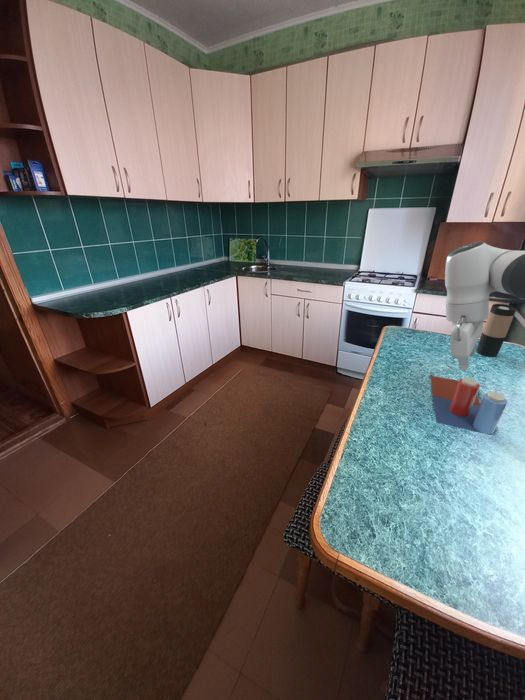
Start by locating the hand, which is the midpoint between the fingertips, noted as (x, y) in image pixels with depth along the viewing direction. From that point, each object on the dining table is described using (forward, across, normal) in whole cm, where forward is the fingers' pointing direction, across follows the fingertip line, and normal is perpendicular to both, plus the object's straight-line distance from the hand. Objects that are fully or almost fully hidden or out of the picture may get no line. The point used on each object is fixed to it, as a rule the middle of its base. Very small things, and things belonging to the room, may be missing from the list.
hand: (467, 362), depth 77 cm
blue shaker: (+20, 0, -3) cm, 20 cm away
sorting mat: (+18, +9, +4) cm, 21 cm away
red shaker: (+18, +4, +3) cm, 18 cm away
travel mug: (+18, +54, +2) cm, 58 cm away
